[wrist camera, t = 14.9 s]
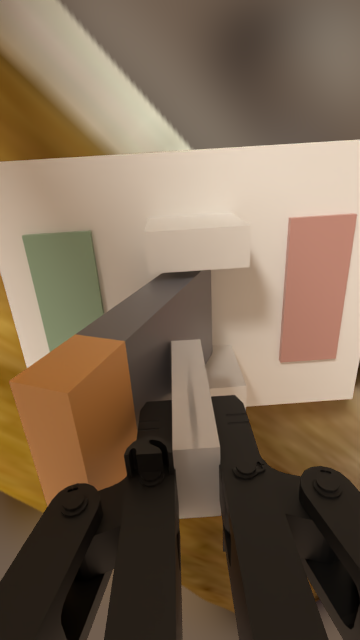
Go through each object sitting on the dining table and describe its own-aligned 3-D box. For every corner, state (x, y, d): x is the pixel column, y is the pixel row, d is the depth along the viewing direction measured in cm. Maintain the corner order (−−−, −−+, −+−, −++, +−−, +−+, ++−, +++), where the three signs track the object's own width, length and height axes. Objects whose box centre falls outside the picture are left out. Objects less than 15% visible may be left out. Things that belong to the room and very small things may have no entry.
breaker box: (61, 380, 31) (16, 475, 22) (10, 164, 24) (-92, 161, 14) (322, 362, 32) (391, 446, 22) (350, 143, 24) (472, 127, 15)
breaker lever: (188, 342, 24) (53, 525, 12) (183, 257, 21) (9, 381, 10) (216, 346, 23) (102, 543, 11) (214, 258, 21) (67, 393, 9)
